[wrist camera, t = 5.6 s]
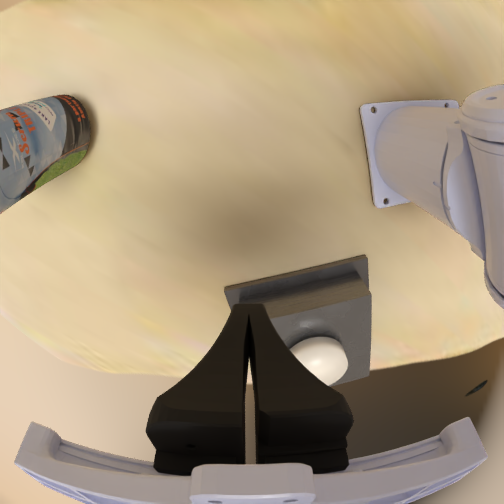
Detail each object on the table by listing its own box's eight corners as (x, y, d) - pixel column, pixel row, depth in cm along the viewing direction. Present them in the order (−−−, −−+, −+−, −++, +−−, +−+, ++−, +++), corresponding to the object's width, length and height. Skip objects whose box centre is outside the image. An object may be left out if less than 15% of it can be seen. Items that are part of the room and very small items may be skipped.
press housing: (365, 254, 23) (383, 279, 19) (366, 351, 28) (377, 378, 24) (224, 287, 24) (221, 317, 20) (257, 376, 29) (259, 406, 26)
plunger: (331, 302, 24) (347, 342, 20) (335, 342, 26) (348, 381, 22) (275, 315, 25) (280, 357, 20) (285, 354, 27) (290, 394, 22)
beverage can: (112, 113, 17) (-7, 129, 7) (74, 194, 20) (-27, 264, 9) (58, 83, 16) (-58, 87, 5) (27, 160, 18) (-76, 207, 8)
